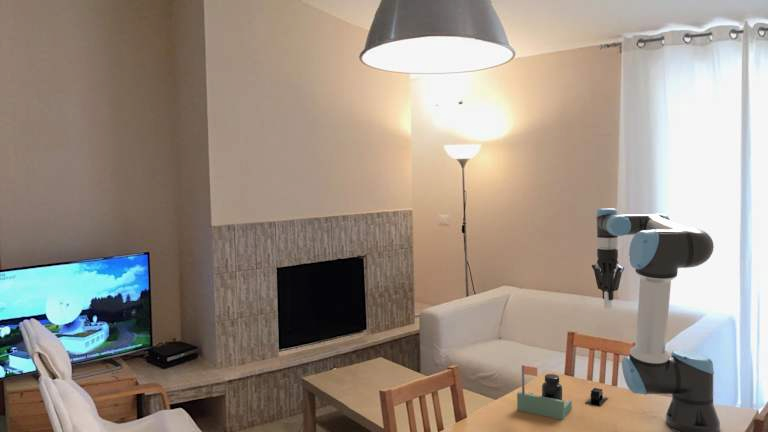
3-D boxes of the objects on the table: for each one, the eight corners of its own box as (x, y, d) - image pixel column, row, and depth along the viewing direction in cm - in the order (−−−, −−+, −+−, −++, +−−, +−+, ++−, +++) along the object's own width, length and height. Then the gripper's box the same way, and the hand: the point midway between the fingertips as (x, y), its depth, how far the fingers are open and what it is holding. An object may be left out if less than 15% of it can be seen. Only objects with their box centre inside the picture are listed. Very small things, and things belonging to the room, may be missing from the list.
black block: (592, 395, 212) (592, 383, 212) (612, 399, 207) (612, 386, 207) (581, 405, 202) (580, 393, 202) (602, 410, 198) (601, 397, 197)
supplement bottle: (541, 412, 196) (540, 378, 195) (542, 405, 202) (542, 372, 202) (561, 414, 194) (561, 380, 193) (563, 407, 200) (562, 373, 199)
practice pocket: (528, 400, 207) (527, 357, 206) (572, 409, 198) (571, 363, 197) (517, 410, 199) (516, 365, 198) (562, 419, 189) (562, 372, 189)
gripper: (628, 248, 218) (628, 309, 219) (598, 246, 228) (599, 304, 230) (616, 250, 213) (617, 312, 215) (587, 247, 224) (587, 306, 225)
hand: (608, 307), depth 222 cm, fingers closed
